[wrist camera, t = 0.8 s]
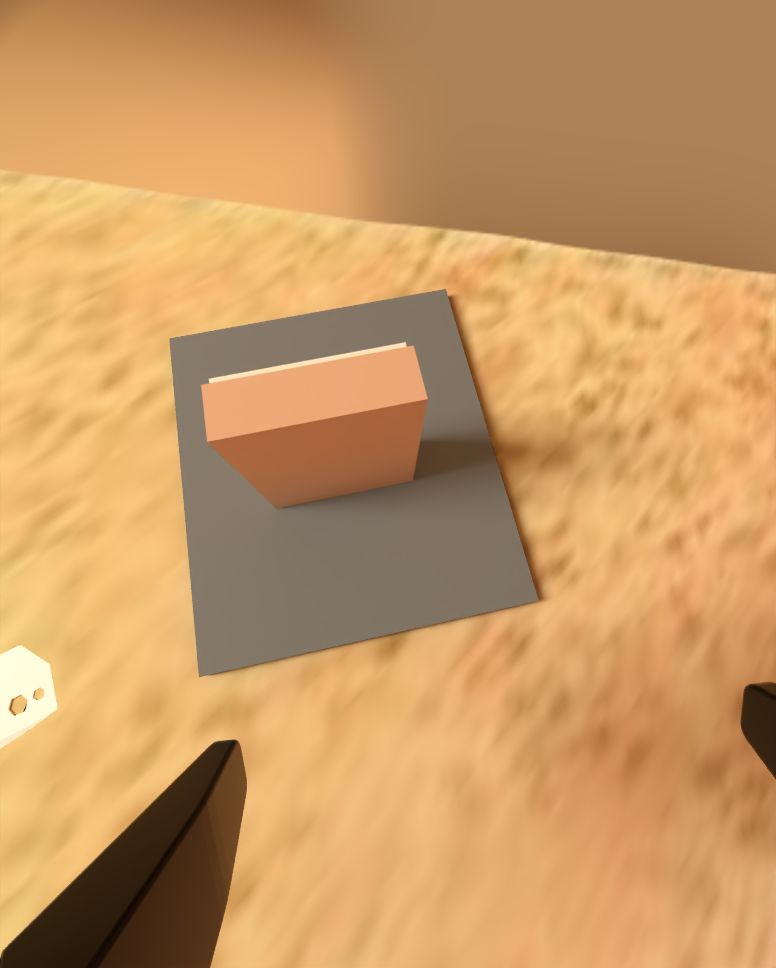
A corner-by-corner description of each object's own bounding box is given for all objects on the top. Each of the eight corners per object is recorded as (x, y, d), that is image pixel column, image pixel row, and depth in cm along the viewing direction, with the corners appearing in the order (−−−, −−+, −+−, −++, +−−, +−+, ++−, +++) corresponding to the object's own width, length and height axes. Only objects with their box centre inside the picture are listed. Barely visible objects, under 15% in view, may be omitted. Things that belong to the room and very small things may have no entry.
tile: (412, 481, 23) (427, 399, 14) (276, 508, 23) (207, 441, 14) (402, 439, 24) (411, 337, 15) (270, 466, 23) (200, 376, 15)
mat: (534, 601, 22) (538, 600, 21) (204, 675, 21) (199, 677, 20) (444, 296, 27) (445, 289, 26) (174, 344, 26) (169, 338, 25)
